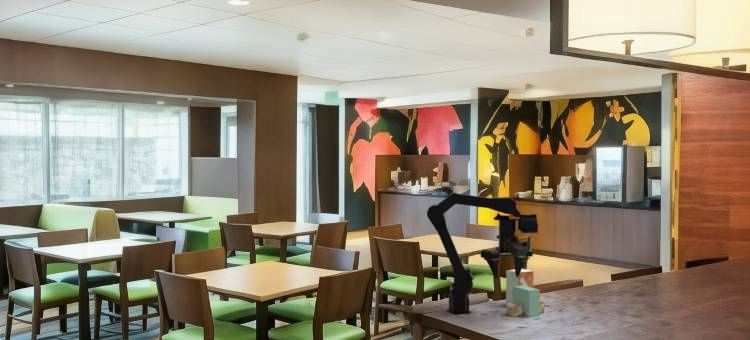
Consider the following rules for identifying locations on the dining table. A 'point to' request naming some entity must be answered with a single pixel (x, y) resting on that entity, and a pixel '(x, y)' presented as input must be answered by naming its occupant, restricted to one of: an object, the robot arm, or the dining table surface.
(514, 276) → the small box
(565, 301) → the dining table surface
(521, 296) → the teal block
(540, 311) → the maple rail
